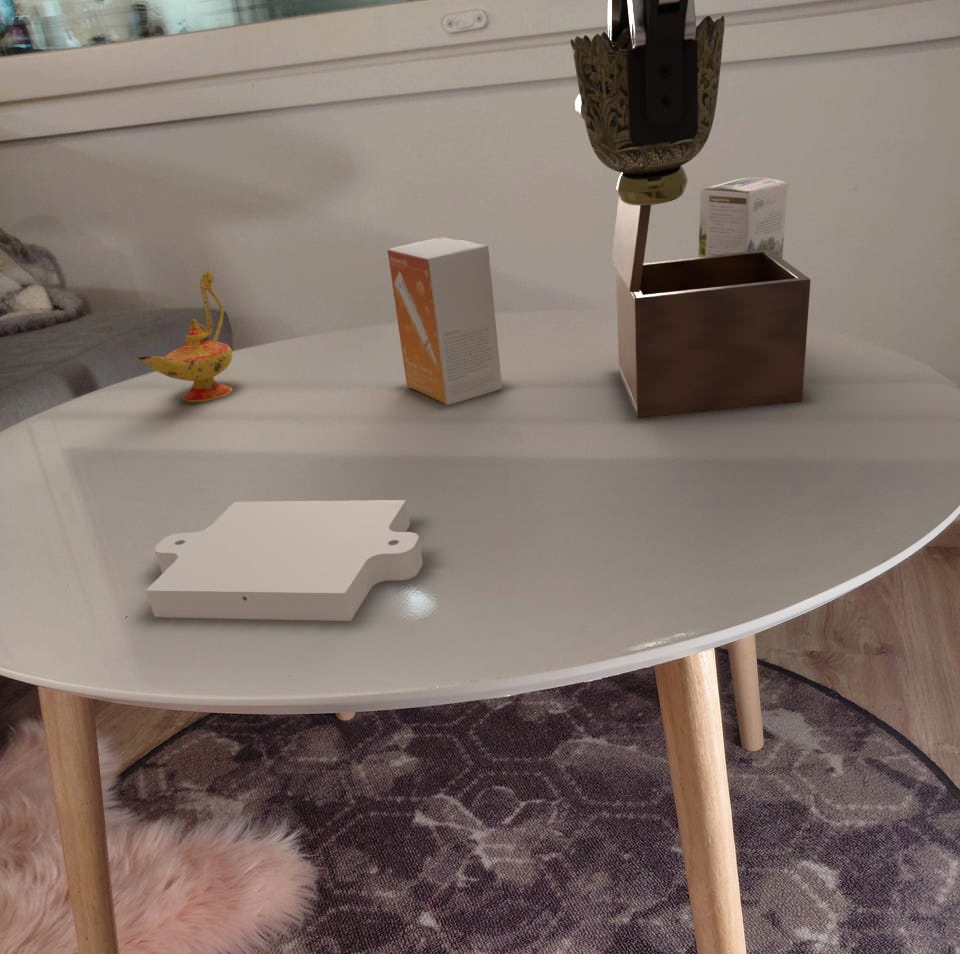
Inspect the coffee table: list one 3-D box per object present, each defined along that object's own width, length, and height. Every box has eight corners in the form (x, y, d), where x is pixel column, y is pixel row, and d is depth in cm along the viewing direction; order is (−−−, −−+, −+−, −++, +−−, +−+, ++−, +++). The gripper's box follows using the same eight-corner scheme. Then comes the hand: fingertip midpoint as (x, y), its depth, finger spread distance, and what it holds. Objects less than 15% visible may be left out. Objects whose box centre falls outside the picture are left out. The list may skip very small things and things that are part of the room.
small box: (405, 388, 95) (385, 248, 89) (461, 372, 98) (445, 235, 91) (446, 406, 89) (427, 257, 82) (504, 389, 92) (490, 243, 85)
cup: (743, 184, 52) (746, 9, 48) (695, 213, 47) (694, 19, 43) (615, 191, 56) (608, 28, 52) (558, 218, 51) (545, 40, 47)
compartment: (764, 359, 91) (769, 249, 86) (802, 402, 80) (810, 279, 75) (619, 374, 92) (615, 266, 87) (637, 419, 81) (634, 298, 76)
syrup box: (731, 330, 101) (736, 176, 93) (779, 337, 96) (788, 177, 89) (695, 344, 98) (697, 186, 90) (743, 352, 94) (749, 188, 86)
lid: (642, 74, 79) (574, 70, 79) (667, 80, 68) (588, 75, 68) (620, 261, 87) (557, 257, 86) (639, 292, 76) (568, 288, 76)
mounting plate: (118, 616, 61) (109, 590, 60) (209, 526, 72) (202, 502, 71) (391, 622, 57) (386, 593, 56) (444, 525, 67) (441, 499, 66)
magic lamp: (125, 431, 93) (89, 314, 87) (209, 373, 108) (182, 269, 102) (189, 429, 92) (156, 310, 86) (265, 371, 106) (242, 265, 100)
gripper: (783, -437, 33) (766, 141, 42) (689, -295, 48) (693, 111, 57) (562, -398, 34) (594, 164, 43) (537, -269, 48) (565, 129, 58)
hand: (650, 131), depth 50 cm, fingers closed on cup, 7 cm apart
